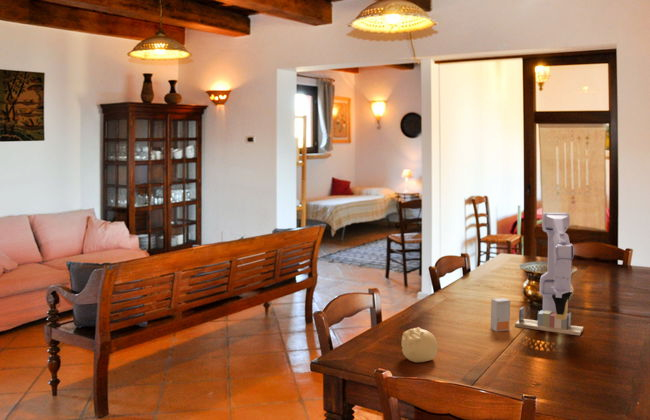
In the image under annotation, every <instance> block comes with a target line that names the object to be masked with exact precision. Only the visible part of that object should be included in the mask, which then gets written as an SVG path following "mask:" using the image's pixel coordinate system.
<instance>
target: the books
mask: <svg viewBox="0 0 650 420" xmlns="http://www.w3.org/2000/svg"><path fill="white" fill-rule="evenodd" d="M542 310H543V309H541V310H539V312H538V313H537V320H536V321H537V325H538V326H545V327H552V328H559V329H567V318H566V320H561V319H555V313H553V312H552V311H550V310H545V311H542ZM568 314H569V313H567V315H568Z"/></svg>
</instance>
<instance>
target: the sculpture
mask: <svg viewBox="0 0 650 420" xmlns="http://www.w3.org/2000/svg"><path fill="white" fill-rule="evenodd" d="M400 341H401V345H400V347H402V349H401V351H402V353H403V355H404V357H405V358H406V359H407V360H409V361H410V362H413V363H424V362H428V361H432V360H433V359H435V357H436V355H437V351H438V343H437V339H436V337H435V336H434V334H433V333H431V331H429V330H426V329H423V328H421V327H419V326H417V327H414V328H410V329H407V330H405V331H403V333H402V336H401V340H400Z"/></svg>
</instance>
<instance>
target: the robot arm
mask: <svg viewBox="0 0 650 420" xmlns="http://www.w3.org/2000/svg"><path fill="white" fill-rule="evenodd" d="M541 218H542V220H541V223H542V224H541V226H542V227H541V228H542V231H543V232H544V233H546V235H547V271H546V272H545V273H543V274H542V275H541V276H540V278H539V294H540V295H542V309H541V310H542V311H545V310H550V311H552V312H553V313H555V310H556V312H557V314H561V315H563V313H564V309H565V305H566V302H567V299H568V301H569V300H570V297H571V296H572V293H573V292H572V288H571V287H572V286H571V285H572V261H573V259H574V254H575V249H574V245H573V244H572V243H570V238H569V237H570V236H569V234H568V233H566V232H567V231H568V228H569V227H570V214H569V212H546V211H544V212H543V213H542V217H541Z"/></svg>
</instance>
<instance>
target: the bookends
mask: <svg viewBox="0 0 650 420" xmlns="http://www.w3.org/2000/svg"><path fill="white" fill-rule="evenodd" d="M567 314H568V315H567V330H568V329H569V328H570V326H571V325H572V324H571V323H572V322H571V321H572V320H571V319H572V312H568V313H567ZM518 316H519V317H518V320H519V323H521V322H522V321H523V320H524V319H525V306H522V307H520V308H519V314H518Z"/></svg>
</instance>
